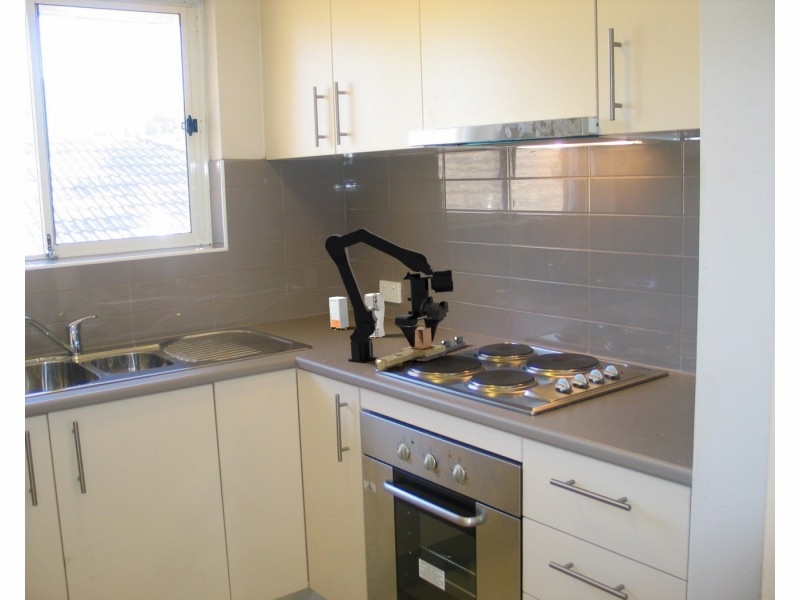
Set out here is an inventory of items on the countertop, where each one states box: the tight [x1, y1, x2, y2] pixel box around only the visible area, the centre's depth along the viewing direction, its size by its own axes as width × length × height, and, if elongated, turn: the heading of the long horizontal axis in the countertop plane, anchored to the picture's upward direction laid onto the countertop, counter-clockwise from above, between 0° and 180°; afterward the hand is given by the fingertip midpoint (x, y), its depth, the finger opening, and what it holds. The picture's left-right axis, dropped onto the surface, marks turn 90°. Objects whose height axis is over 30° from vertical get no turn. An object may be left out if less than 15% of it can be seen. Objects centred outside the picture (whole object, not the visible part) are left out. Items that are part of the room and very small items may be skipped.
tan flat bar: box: [374, 335, 466, 372], centre depth 248 cm, size 41×10×3 cm, turn 141°
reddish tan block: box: [413, 326, 433, 350], centre depth 247 cm, size 4×4×9 cm
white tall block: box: [364, 292, 386, 339], centre depth 286 cm, size 7×7×15 cm
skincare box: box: [328, 296, 350, 328], centre depth 306 cm, size 6×4×12 cm
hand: (422, 344), depth 247 cm, fingers open, 9 cm apart
